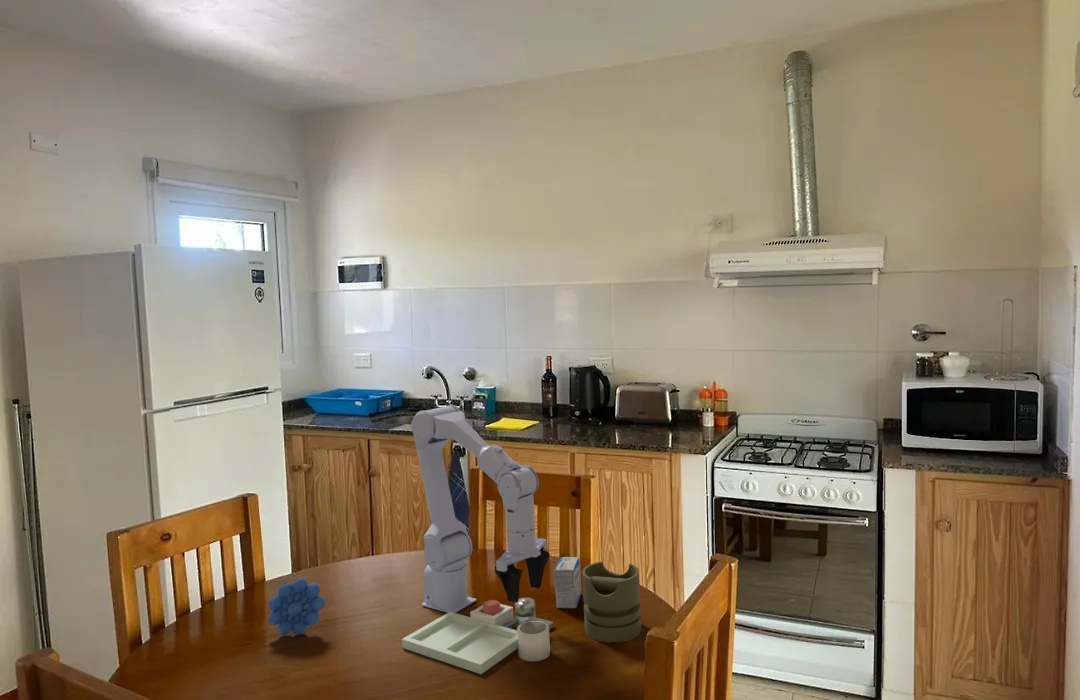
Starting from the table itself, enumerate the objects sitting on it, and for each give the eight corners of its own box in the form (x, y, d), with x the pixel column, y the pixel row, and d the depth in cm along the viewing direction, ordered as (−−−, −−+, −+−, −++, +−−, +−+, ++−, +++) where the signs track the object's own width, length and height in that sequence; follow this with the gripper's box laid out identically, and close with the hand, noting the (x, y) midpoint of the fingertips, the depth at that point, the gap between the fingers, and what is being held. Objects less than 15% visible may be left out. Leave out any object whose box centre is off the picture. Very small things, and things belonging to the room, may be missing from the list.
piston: (632, 584, 139) (575, 579, 143) (634, 645, 140) (577, 639, 144) (644, 563, 150) (590, 558, 154) (646, 619, 151) (593, 614, 155)
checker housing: (471, 626, 152) (470, 612, 151) (489, 614, 157) (489, 601, 157) (495, 633, 148) (494, 618, 148) (513, 621, 153) (512, 607, 153)
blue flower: (331, 623, 156) (327, 568, 156) (324, 638, 150) (320, 581, 149) (275, 627, 156) (271, 572, 155) (266, 642, 149) (261, 585, 148)
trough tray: (402, 647, 144) (401, 639, 144) (450, 619, 155) (449, 611, 155) (481, 674, 132) (480, 664, 132) (526, 641, 144) (526, 633, 143)
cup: (512, 656, 138) (510, 630, 138) (530, 643, 143) (529, 617, 143) (538, 664, 135) (536, 637, 134) (556, 650, 140) (555, 624, 139)
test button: (480, 623, 152) (479, 605, 152) (491, 617, 155) (490, 598, 155) (493, 627, 150) (492, 608, 150) (504, 620, 153) (503, 602, 152)
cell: (512, 632, 148) (510, 601, 148) (524, 624, 151) (522, 594, 151) (528, 636, 146) (526, 605, 145) (540, 628, 149) (538, 598, 149)
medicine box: (576, 609, 157) (574, 570, 157) (555, 608, 158) (553, 569, 158) (581, 594, 165) (579, 556, 164) (562, 593, 166) (560, 556, 165)
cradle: (498, 633, 148) (498, 629, 148) (522, 618, 154) (521, 613, 154) (530, 643, 143) (530, 638, 143) (553, 626, 150) (553, 622, 149)
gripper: (515, 542, 139) (519, 611, 140) (557, 520, 151) (560, 585, 152) (486, 536, 143) (490, 604, 144) (529, 516, 155) (533, 578, 156)
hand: (524, 594), depth 148 cm, fingers open, 7 cm apart
